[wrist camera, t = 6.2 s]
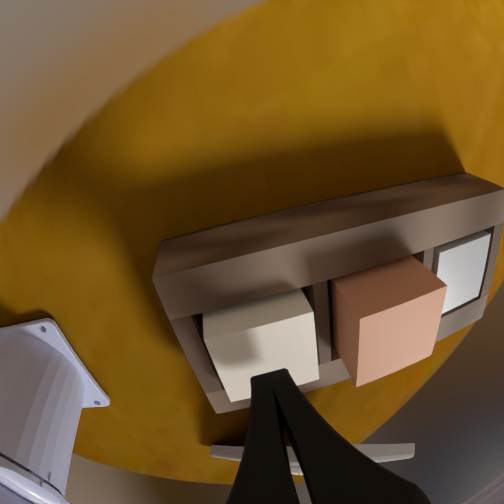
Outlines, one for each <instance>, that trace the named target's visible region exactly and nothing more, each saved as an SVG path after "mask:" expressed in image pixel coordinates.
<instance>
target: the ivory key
mask: <svg viewBox="0 0 504 504" xmlns="http://www.w3.org/2000/svg"><path fill="white" fill-rule="evenodd" d="M203 334H204V342H205V344H206V346H207V349H208V351H209V354H210V356H211V358H212V361H213V363H214V365H215V368H216V370H217V372H218V374H219V377H220V379H221V381H222V383H223V386H224V388H225V390H226V392H227V395H228V397H229V399H230V401H231V402H234V401H239V400H243V399H248V398H251V383H250V378H251V377H252V376H256V375H260V374H264V373H268V372H272V371H275V370H279V369H283V368H286V369H288V371H289V373H290V375H291V377H292V379H293V380H294V382H295V383H296V385H297V386H298V385H302V384H305V383H308V382H312V381H315V380H318V379H319V370H318V357H317V345H316V334H315V323H314V313H313V310H312V308H311V306H310V304H309V303H308V301H307V299H306V297H305V295H304V293H303V291H302V290H301V288H297V289H294V290H290V291H286V292H283V293H279V294H275V295H271V296H267V297H264V298H260V299H256V300H252V301H248V302H244V303H240V304H236V305H232V306H228V307H224V308H220V309H216V310H211V311H207V312H203Z"/></svg>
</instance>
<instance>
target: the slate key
mask: <svg viewBox="0 0 504 504" xmlns="http://www.w3.org/2000/svg"><path fill="white" fill-rule="evenodd" d="M490 235H491V234H490V233H488V232H486V231H485V230H481V231H478V232H476V233H473V234H470V235H467V236H464V237H462V238H459V239H456V240H453V241H450V242H447V243H444V244H441V245H438V246H436V247H434V251H433V261H432V269H431V272H432V273H434V274H435V275H436V276H437V277H438V278H440V279H441V280H442V281H443V282H444V283H445V284H446V285H447V291H446V296H445V301H444V306H443V310H442V314H443V313H445V312H447V311H449V310H451V309H453V308H455V307H457V306H459V305H461V304H463V303H465V302H467V301H469V300H471V299H473V298H475V297H477V296H478V295H479V291H480V286H481V282H482V278H483V273H484V269H485V264H486V259H487V253H488V247H489V241H490Z"/></svg>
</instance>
